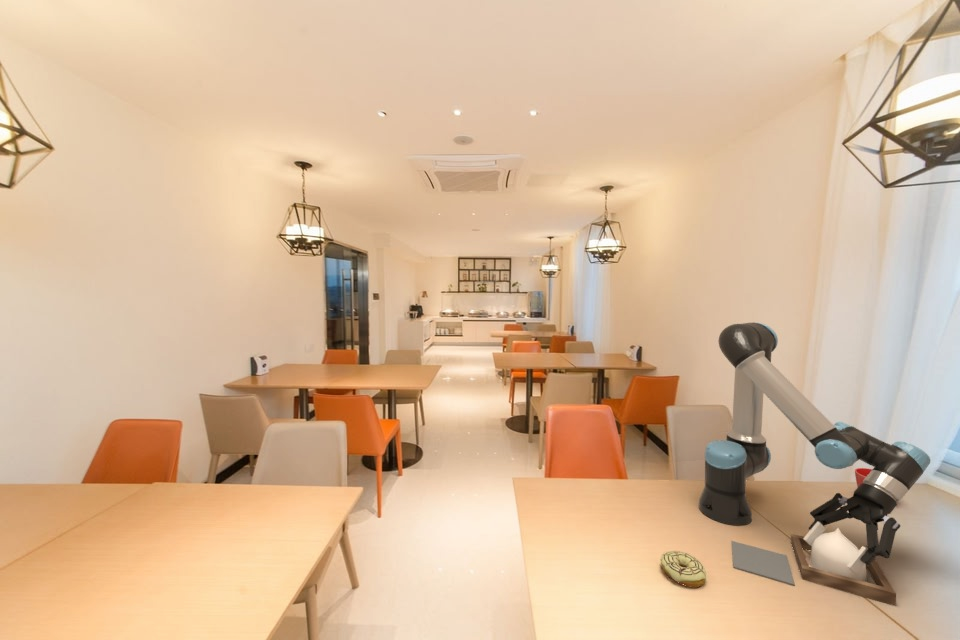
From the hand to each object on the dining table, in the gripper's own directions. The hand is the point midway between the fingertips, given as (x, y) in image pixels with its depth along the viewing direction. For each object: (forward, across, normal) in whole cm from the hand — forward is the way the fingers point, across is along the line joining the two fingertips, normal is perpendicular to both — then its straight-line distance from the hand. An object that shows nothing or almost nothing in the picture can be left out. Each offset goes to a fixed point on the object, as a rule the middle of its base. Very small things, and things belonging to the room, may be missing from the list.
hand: (828, 555), depth 100 cm
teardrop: (+1, 0, -6) cm, 6 cm away
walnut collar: (+1, 0, -5) cm, 5 cm away
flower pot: (-35, +28, -41) cm, 61 cm away
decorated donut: (+30, +6, +23) cm, 39 cm away
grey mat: (+13, +6, +7) cm, 16 cm away
